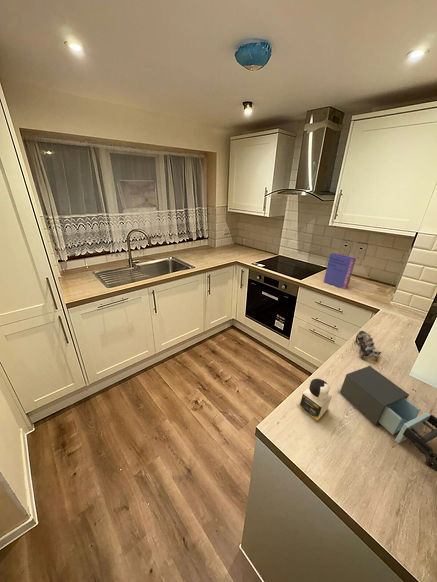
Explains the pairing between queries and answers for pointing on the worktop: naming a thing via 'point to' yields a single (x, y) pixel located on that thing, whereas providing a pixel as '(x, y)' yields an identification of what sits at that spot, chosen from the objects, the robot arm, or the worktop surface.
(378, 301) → the worktop surface
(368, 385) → the dark grey drawer box
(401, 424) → the light blue drawer
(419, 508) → the worktop surface
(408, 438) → the robot arm
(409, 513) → the worktop surface
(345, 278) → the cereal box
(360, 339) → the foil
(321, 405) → the medicine bottle
